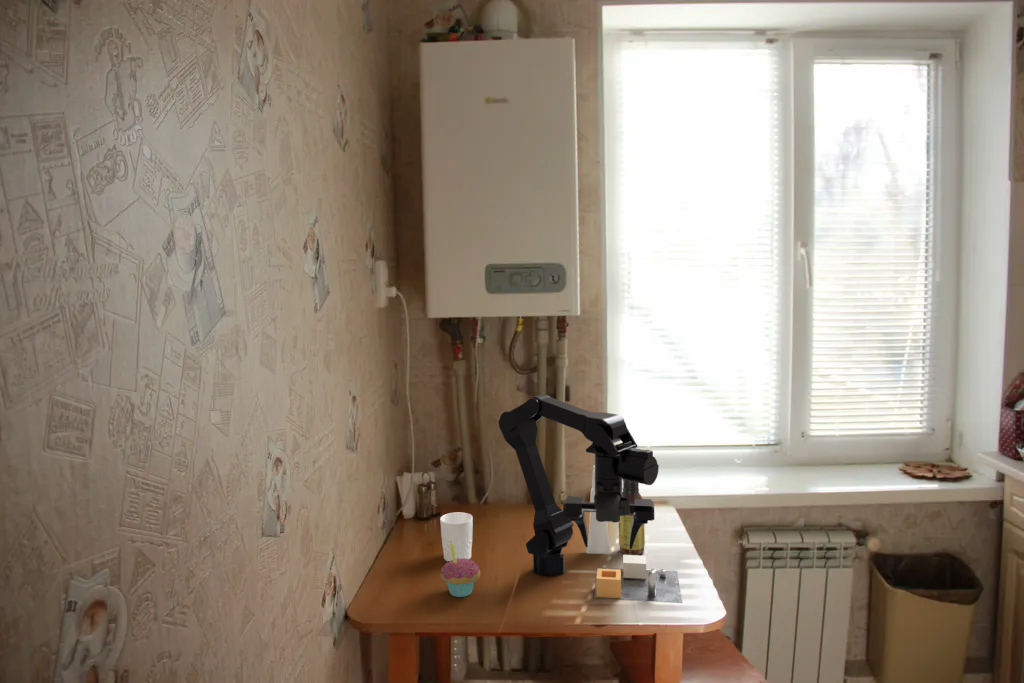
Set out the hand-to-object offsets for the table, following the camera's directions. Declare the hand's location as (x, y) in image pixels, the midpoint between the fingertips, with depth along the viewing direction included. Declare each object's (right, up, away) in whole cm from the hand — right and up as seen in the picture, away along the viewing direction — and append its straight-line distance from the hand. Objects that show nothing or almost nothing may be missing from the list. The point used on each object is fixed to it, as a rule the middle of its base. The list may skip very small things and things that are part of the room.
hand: (608, 547), depth 151 cm
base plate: (+7, -11, +5) cm, 13 cm away
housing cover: (+7, -9, +9) cm, 14 cm away
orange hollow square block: (0, -10, +1) cm, 10 cm away
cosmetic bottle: (+1, -9, +24) cm, 26 cm away
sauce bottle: (+9, -8, +25) cm, 28 cm away
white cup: (-34, -9, +24) cm, 42 cm away
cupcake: (-32, -11, +5) cm, 34 cm away
